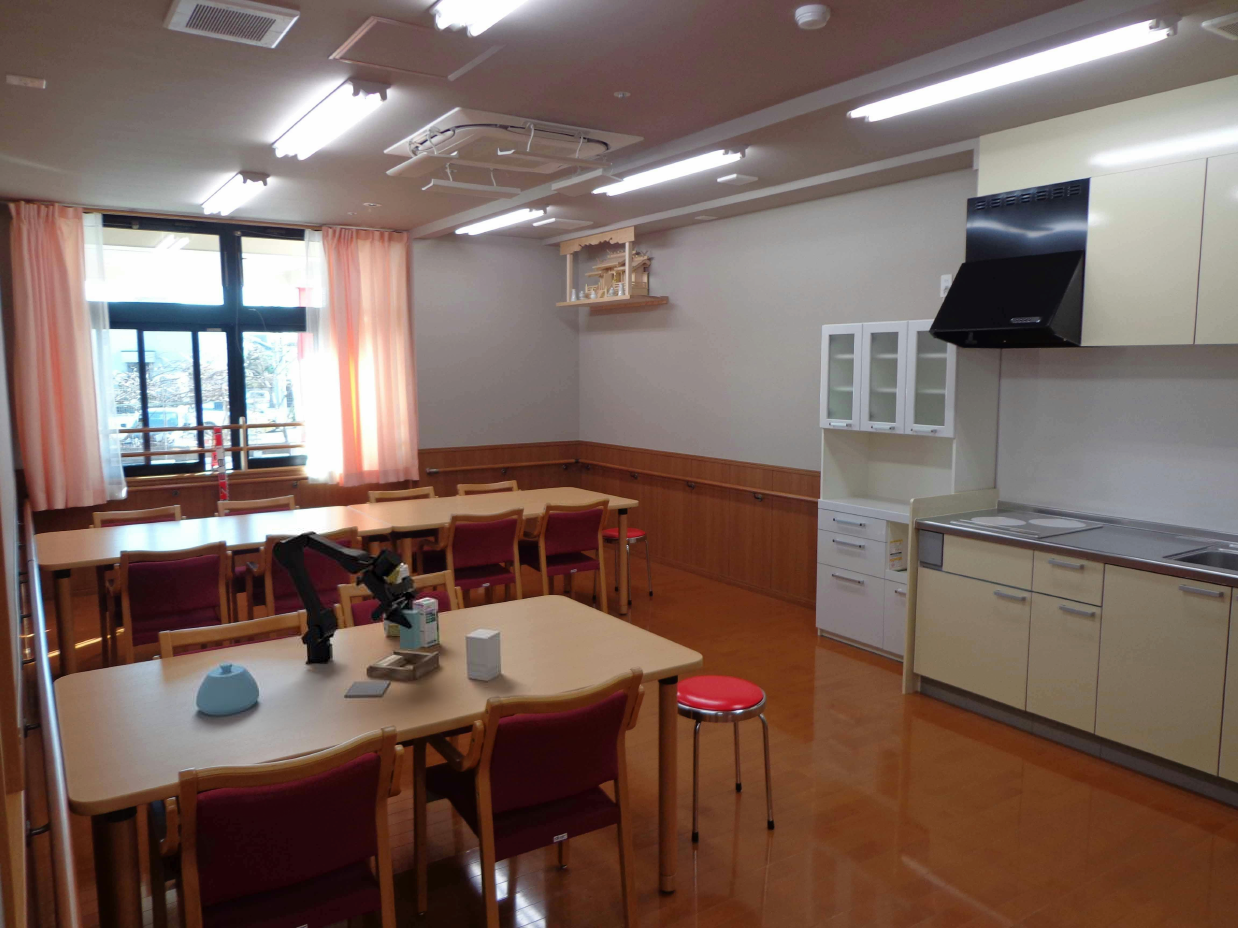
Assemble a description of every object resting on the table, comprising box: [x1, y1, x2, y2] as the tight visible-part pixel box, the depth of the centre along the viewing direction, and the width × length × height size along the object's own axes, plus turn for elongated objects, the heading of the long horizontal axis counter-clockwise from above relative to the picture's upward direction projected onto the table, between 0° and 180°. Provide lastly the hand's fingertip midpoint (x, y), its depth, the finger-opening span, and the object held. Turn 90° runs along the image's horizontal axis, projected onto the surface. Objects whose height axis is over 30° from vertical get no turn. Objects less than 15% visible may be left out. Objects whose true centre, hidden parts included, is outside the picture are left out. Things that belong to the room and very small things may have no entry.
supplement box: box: [465, 628, 502, 682], centre depth 237 cm, size 7×7×13 cm
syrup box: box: [412, 597, 440, 648], centre depth 266 cm, size 6×6×14 cm
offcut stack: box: [376, 655, 406, 667], centre depth 244 cm, size 4×10×3 cm, turn 164°
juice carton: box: [382, 562, 410, 637], centre depth 277 cm, size 9×8×24 cm
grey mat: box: [343, 680, 391, 698], centre depth 227 cm, size 10×10×1 cm
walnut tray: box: [366, 649, 440, 681], centre depth 243 cm, size 16×14×4 cm
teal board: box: [399, 609, 422, 651], centre depth 241 cm, size 5×3×11 cm, turn 74°
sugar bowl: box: [195, 662, 260, 717], centre depth 216 cm, size 15×15×12 cm
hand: (414, 626), depth 240 cm, fingers closed on teal board, 3 cm apart
